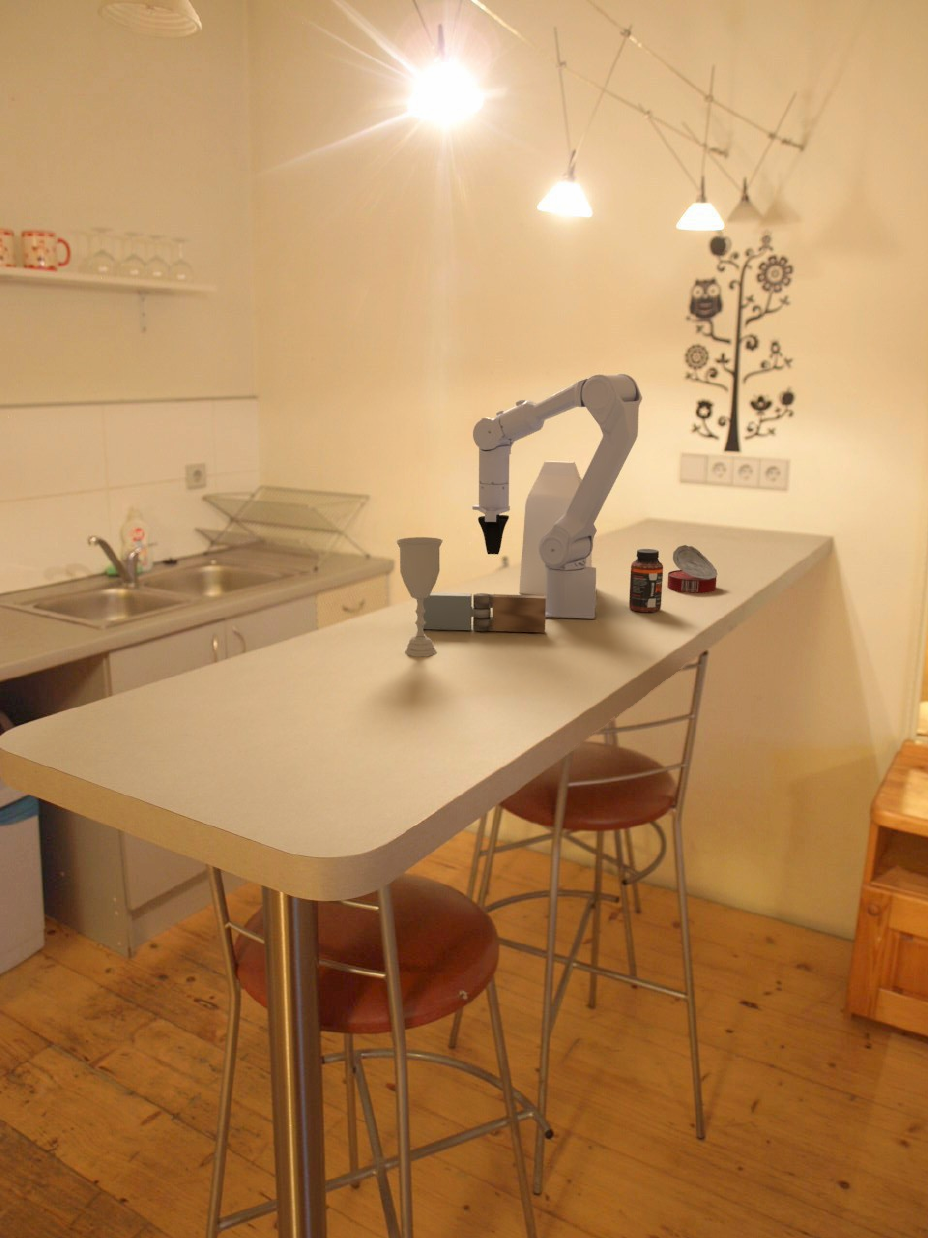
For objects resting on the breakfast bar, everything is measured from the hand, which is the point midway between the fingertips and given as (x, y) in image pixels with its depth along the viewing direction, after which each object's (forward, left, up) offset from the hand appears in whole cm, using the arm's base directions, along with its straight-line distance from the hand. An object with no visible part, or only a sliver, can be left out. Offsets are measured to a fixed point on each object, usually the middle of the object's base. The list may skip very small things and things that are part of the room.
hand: (493, 553), depth 191 cm
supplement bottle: (-29, +3, -10) cm, 31 cm away
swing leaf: (+5, +22, -9) cm, 24 cm away
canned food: (-40, -17, -10) cm, 44 cm away
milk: (-12, -12, -10) cm, 20 cm away
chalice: (+9, +36, -10) cm, 38 cm away
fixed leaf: (-5, +22, -9) cm, 24 cm away
